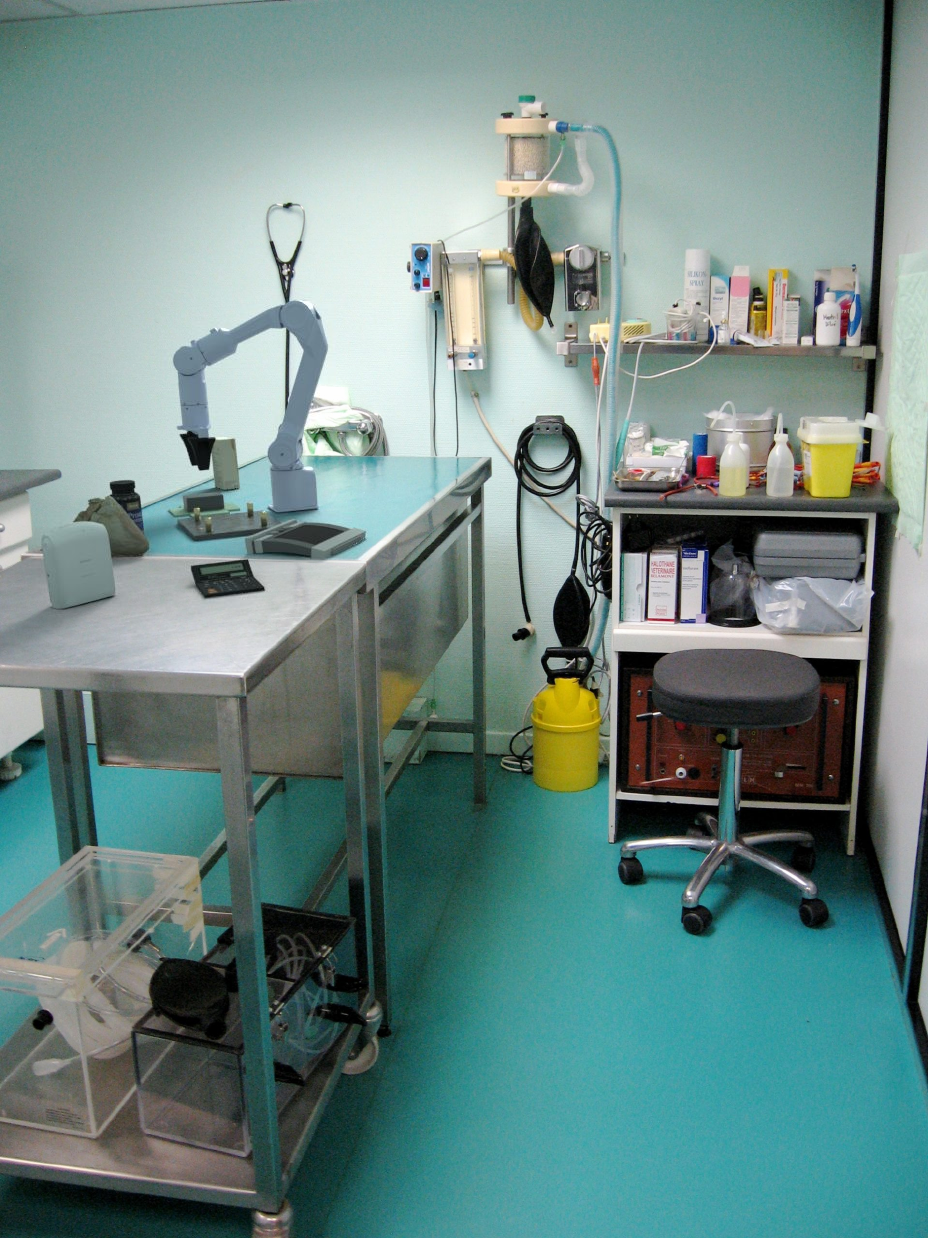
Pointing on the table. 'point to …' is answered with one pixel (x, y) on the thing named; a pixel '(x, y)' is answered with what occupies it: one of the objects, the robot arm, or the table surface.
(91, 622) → the table surface
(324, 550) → the grey curved panel device
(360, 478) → the table surface
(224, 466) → the skincare box
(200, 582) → the calculator
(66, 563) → the photo printer
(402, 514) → the table surface
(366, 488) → the table surface
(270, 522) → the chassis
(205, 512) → the circuit board
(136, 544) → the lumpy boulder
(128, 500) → the pill bottle
